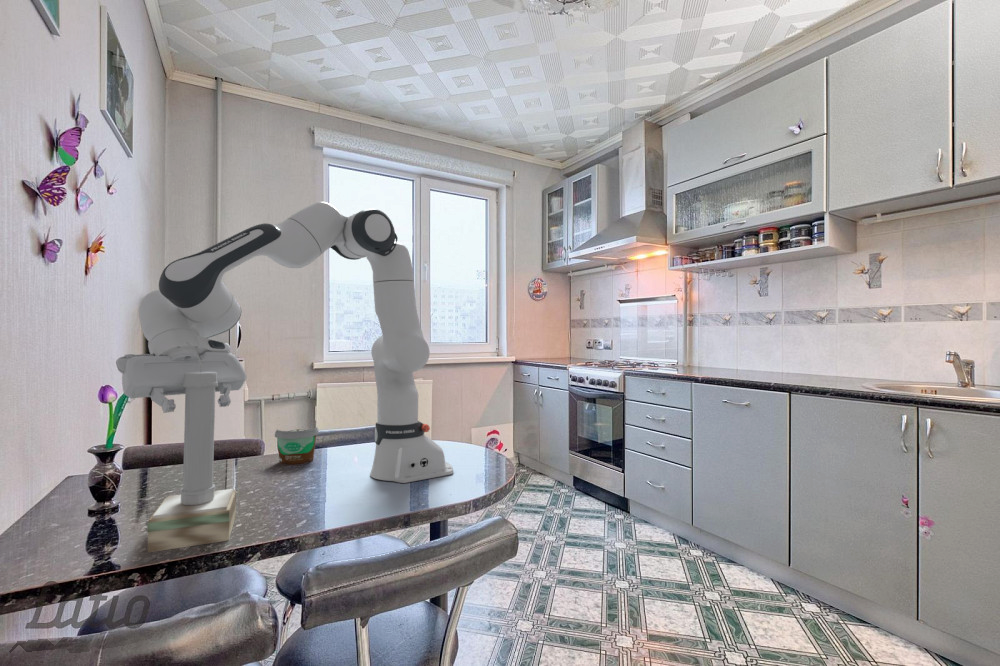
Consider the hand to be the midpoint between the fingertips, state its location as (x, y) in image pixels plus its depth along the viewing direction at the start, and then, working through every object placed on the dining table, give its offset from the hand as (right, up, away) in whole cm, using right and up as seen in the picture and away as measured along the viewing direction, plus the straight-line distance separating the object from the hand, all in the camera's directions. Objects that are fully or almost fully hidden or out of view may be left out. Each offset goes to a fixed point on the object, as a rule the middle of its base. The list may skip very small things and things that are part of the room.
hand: (199, 407), depth 86 cm
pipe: (0, -18, 0) cm, 18 cm away
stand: (0, -24, 0) cm, 24 cm away
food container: (-3, -25, +49) cm, 55 cm away
